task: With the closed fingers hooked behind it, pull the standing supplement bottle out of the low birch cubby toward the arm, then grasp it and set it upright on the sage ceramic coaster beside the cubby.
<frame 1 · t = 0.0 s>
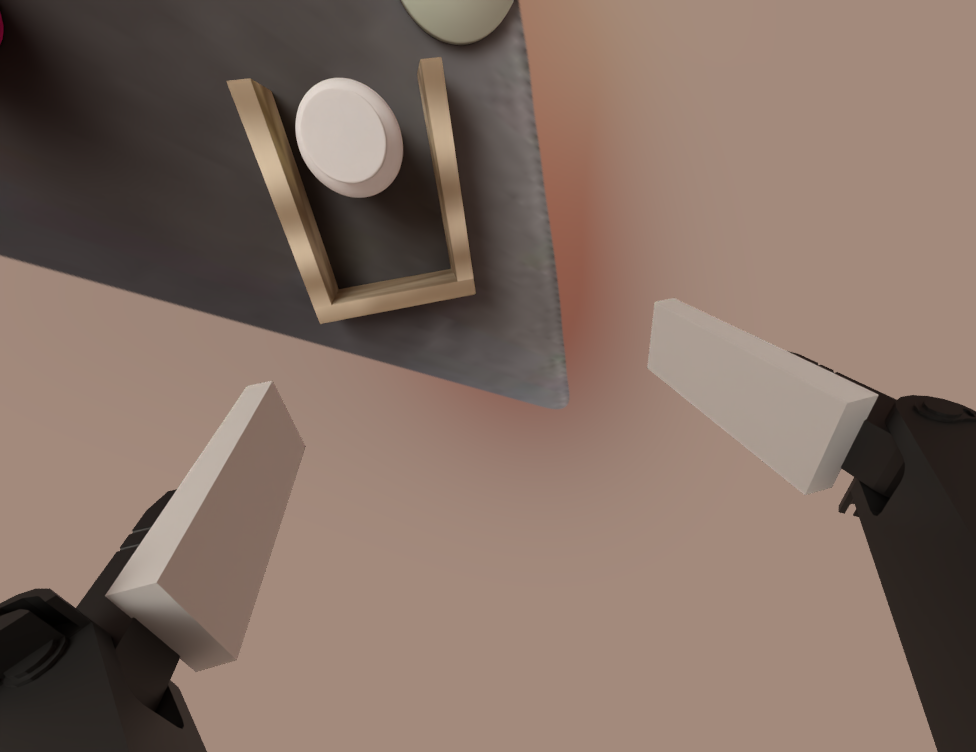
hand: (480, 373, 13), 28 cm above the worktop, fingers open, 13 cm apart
supplement bottle: (362, 148, 32), on the worktop
cubby: (376, 201, 34), on the worktop
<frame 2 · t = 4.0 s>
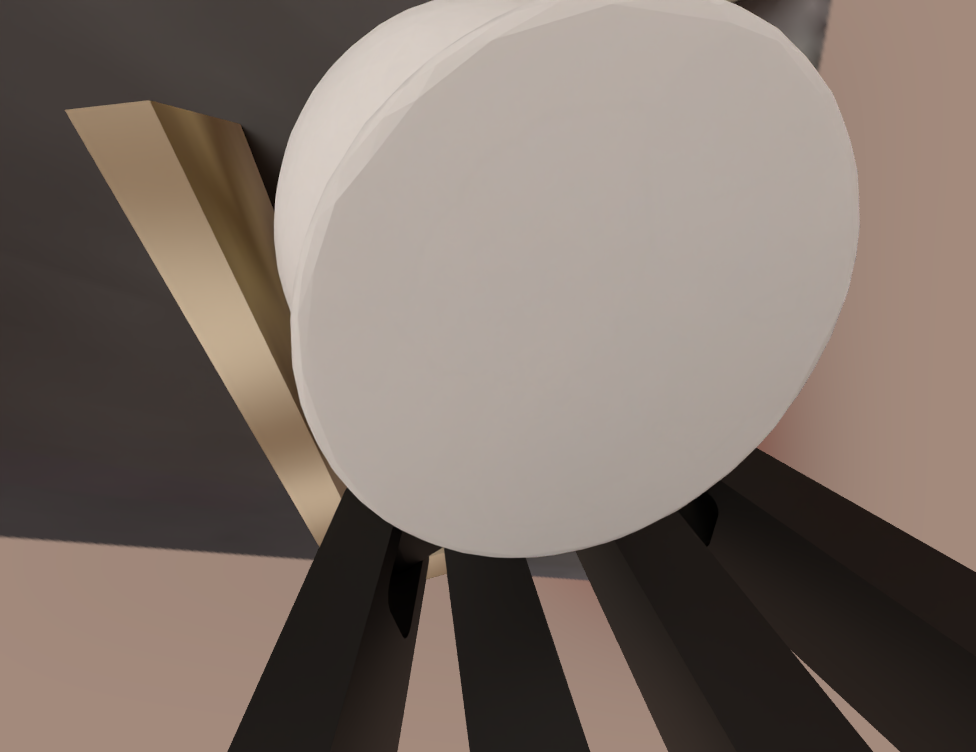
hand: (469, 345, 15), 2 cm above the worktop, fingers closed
supplement bottle: (441, 211, 14), on the worktop, touching gripper
cubby: (464, 339, 17), on the worktop
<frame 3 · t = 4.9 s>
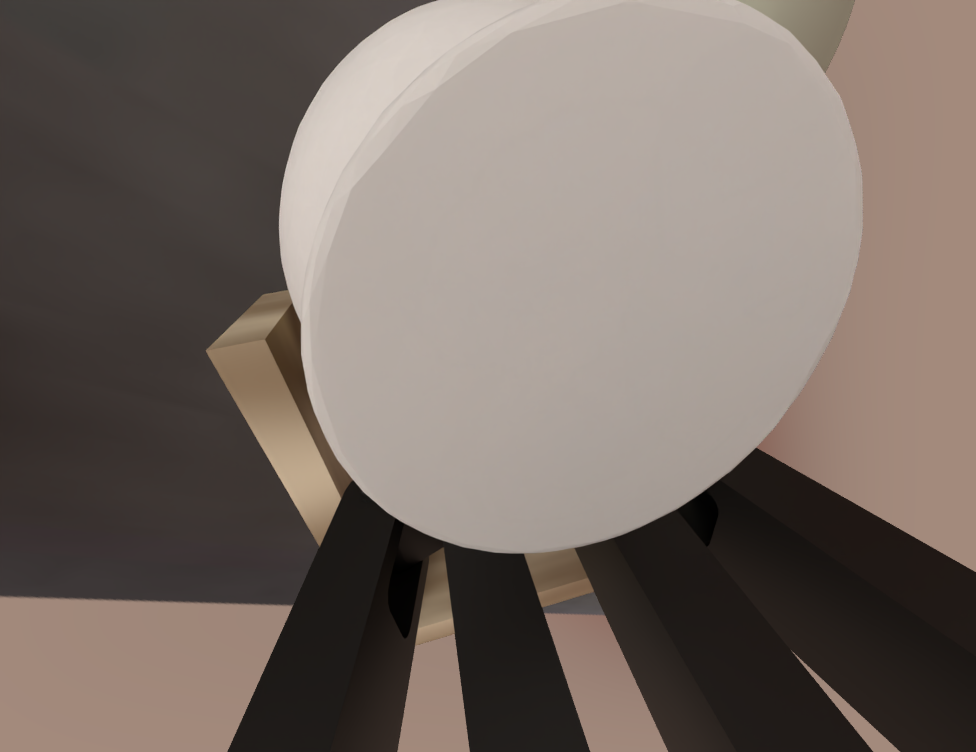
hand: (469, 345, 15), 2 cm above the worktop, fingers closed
supplement bottle: (443, 210, 14), on the worktop, touching gripper
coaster: (702, 20, 13), on the worktop
cubby: (479, 429, 19), on the worktop
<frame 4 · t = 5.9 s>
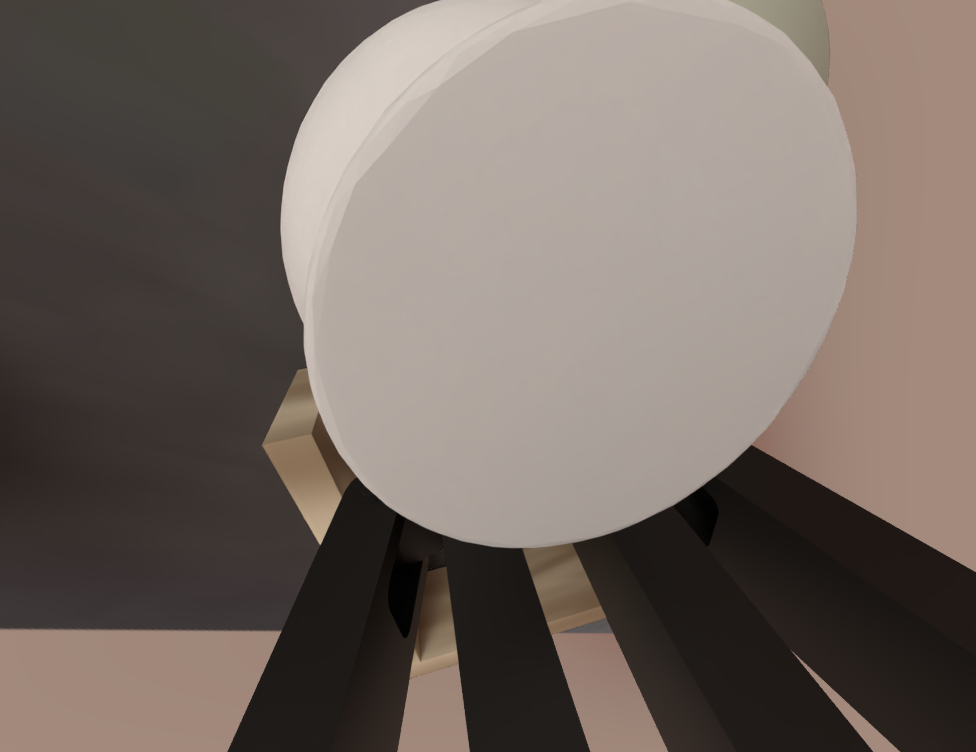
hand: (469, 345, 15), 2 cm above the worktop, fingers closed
supplement bottle: (443, 210, 14), on the worktop, touching gripper
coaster: (686, 135, 15), on the worktop
cubby: (487, 474, 21), on the worktop
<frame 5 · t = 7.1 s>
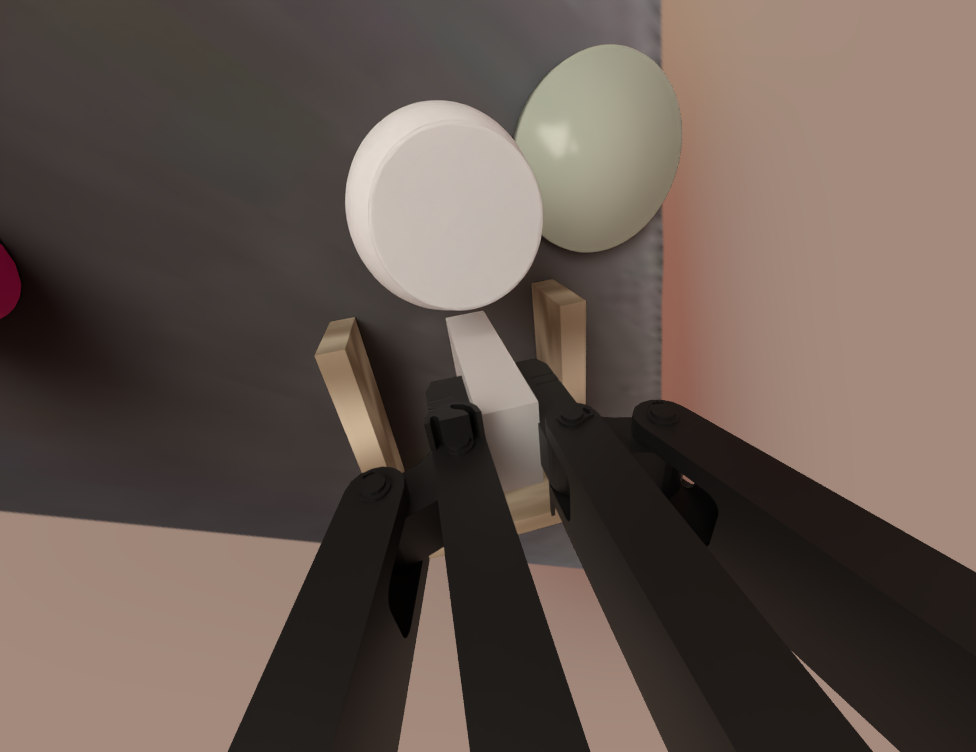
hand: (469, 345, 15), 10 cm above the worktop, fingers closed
supplement bottle: (428, 205, 21), on the worktop
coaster: (592, 160, 22), on the worktop
cubby: (466, 410, 28), on the worktop
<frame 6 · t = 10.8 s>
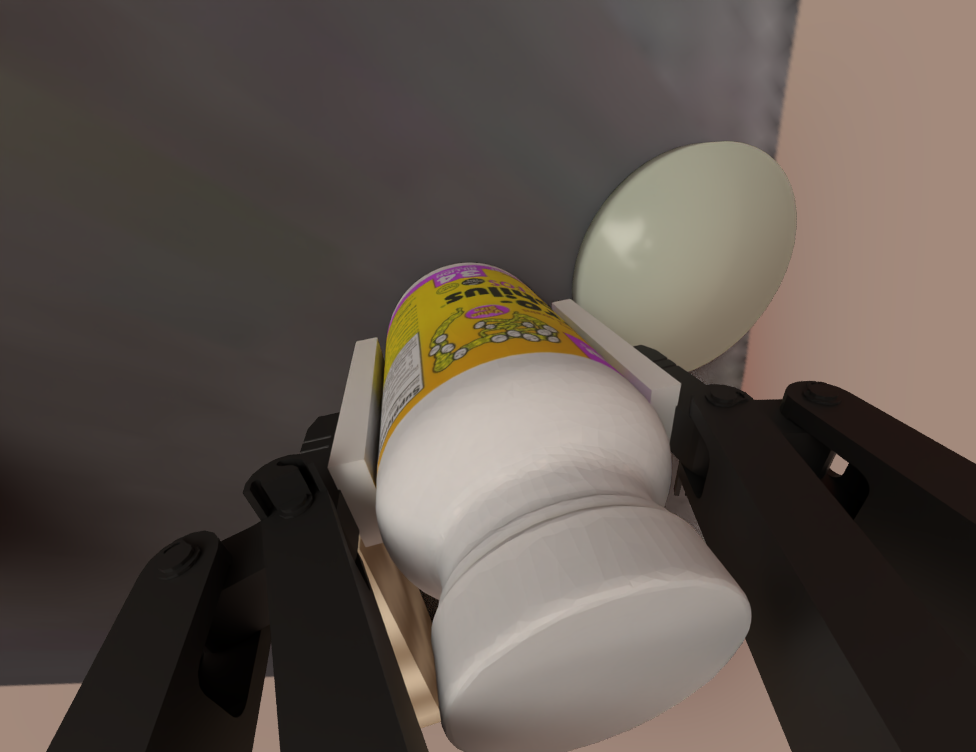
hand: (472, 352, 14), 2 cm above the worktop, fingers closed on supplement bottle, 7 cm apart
supplement bottle: (464, 333, 16), on the worktop, touching gripper
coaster: (675, 272, 17), on the worktop
cubby: (499, 539, 23), on the worktop
when the fingers open (4 cm above the worktop, at t = 16.1 s): supplement bottle drops 1 cm, resting on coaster.
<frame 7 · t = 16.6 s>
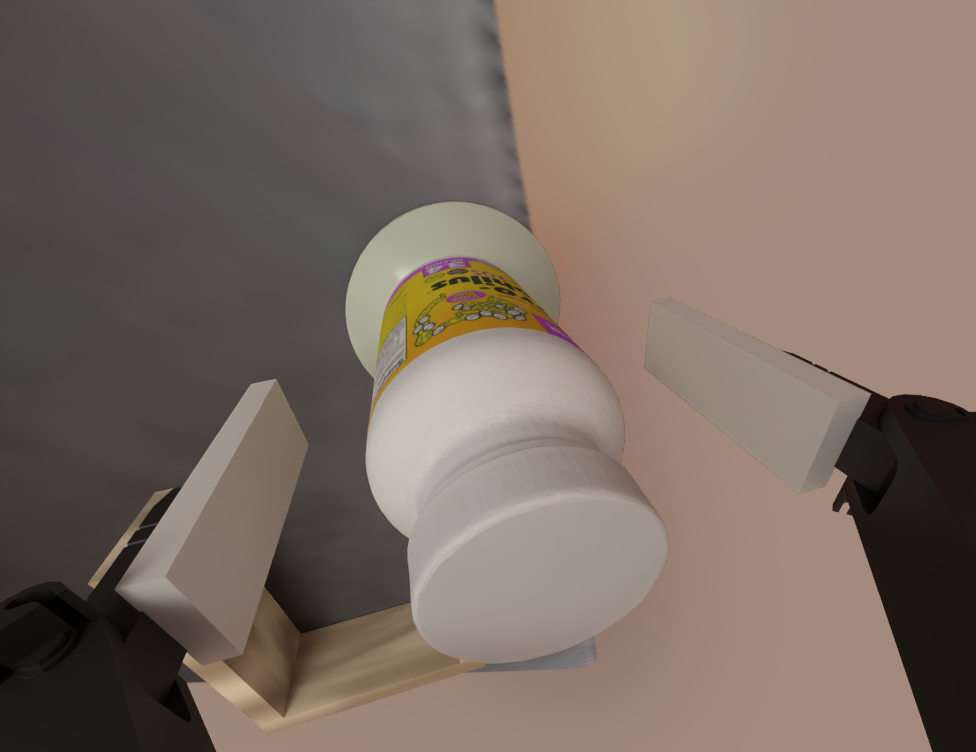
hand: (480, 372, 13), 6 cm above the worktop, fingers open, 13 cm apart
supplement bottle: (454, 322, 18), point 1 cm above the worktop, touching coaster
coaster: (456, 312, 18), on the worktop
cubby: (348, 555, 25), on the worktop
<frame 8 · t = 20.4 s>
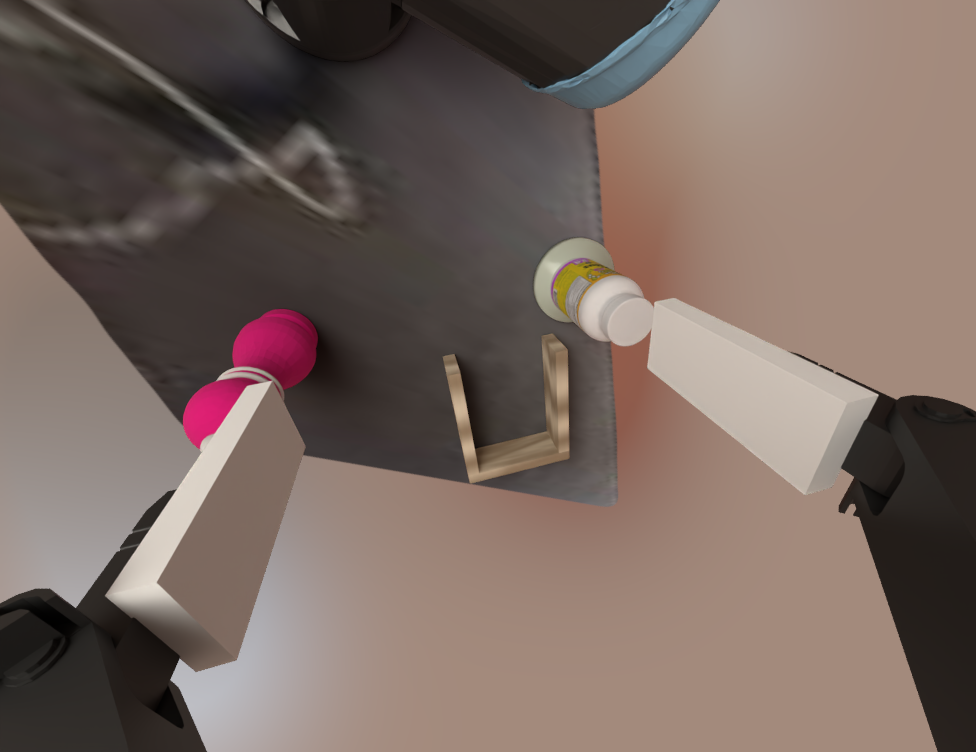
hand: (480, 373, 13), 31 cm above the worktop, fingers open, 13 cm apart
supplement bottle: (573, 283, 44), point 1 cm above the worktop, touching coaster
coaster: (572, 280, 45), on the worktop
cubby: (505, 400, 52), on the worktop
pepper mill: (288, 334, 41), on the worktop
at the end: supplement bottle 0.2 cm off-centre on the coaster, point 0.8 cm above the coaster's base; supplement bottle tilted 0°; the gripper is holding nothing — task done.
